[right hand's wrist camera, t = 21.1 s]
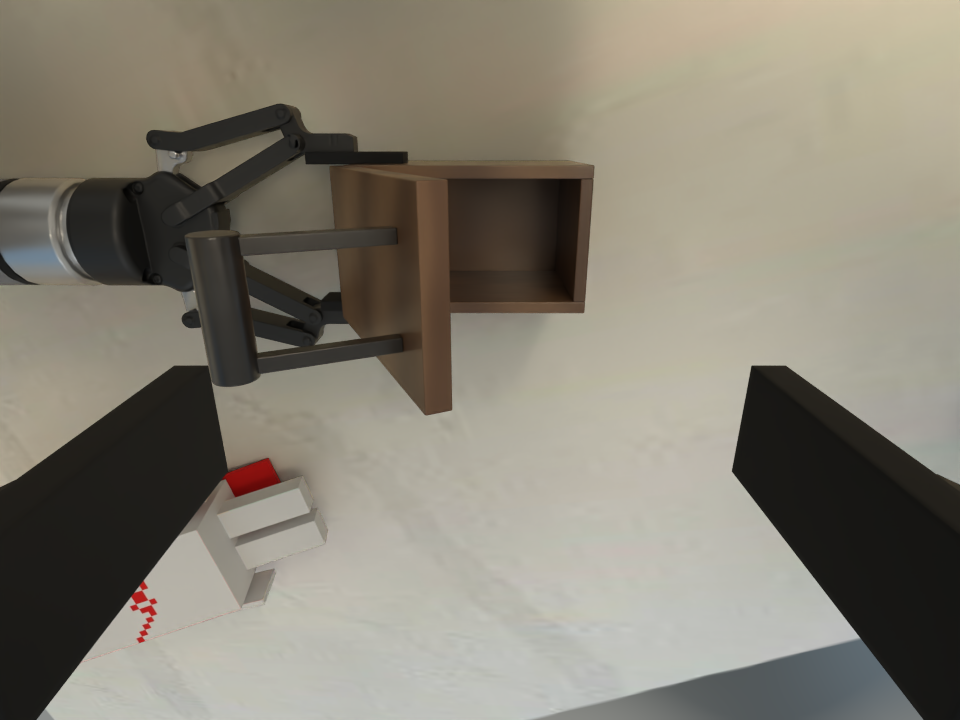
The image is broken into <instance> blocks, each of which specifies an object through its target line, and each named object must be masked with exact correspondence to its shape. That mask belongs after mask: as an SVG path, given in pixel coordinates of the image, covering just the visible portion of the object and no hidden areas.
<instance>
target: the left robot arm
mask: <svg viewBox="0 0 960 720" xmlns="http://www.w3.org/2000/svg"><path fill="white" fill-rule="evenodd" d="M279 129H281V131H282V133H283V135H284V138H283V139H281V140H280V141H278V142H276V143H275V144H273V145H271V146H270V147H268V148H267V149H265V150H263V151H262V152H260V153H259V154H257V155H255V156H254V157H252V158H251V159H249V160H247V161H246V162H244V163H242V164H241V165H239V166H238V167H236V168H234V169H233V170H231V171H230V172H228V173H226V174H225V175H223V176H222V177H220V178H218V179H217V180H215V181H213V182H211V183H208V184H206V185H205V186H203V187H200V186H199V185H198V184H196V183H195V182H193V181H192V180H190V179H189V178H187V177H186V176H184V175H183V174H181V173H179V168H180V166H181V165H182V164H184V163H189V162H190V161H191V160H192V158H193V151H205V150H210V149H214V148H217V147H221V146H224V145H227V144H231V143H234V142H238V141H241V140H245V139H248V138H252V137H255V136H258V135H262V134H265V133H269V132H272V131H276V130H279ZM146 140H147V143H148V144H149V146H150V147H152V148H153V149H156V156H157V166H158V172H156V173H154V174H153V175H151V176H150V177H147V178H91V179H88V180H85V179H82V178H21V179H0V285H28V284H29V285H99V284H105V285H164V286H168V287H171V288H173V289H175V290H177V291H180V292H181V293H182V296H183V300H184V303H185V307H186V310H187V313H185V314H184V315H183V316H182V322H183V324H184V325H185V326H186V327H188V328H200V327H201V323H200V317H199V312H198V307H197V301H196V296H195V290H194V285H193V280H192V274H191V269H190V264H189V258H188V253H187V248H186V242H185V235H187V234H189V233H193V232H200V231H211V230H230V222H231V218H230V212H229V209H226V208H225V206H224V204H226V203H228V202H229V201H231V200H233V199H234V198H236V197H237V196H239V194H241V193H242V192H244V191H246V190H247V189H249V188H250V187H252V186H254V185H255V184H257V183H259V182H260V181H262V180H264V179H265V178H267V177H268V176H270V175H272V174H273V173H275V172H277V171H278V170H280V169H282V168H283V167H285V166H286V165H288V164H290V163H291V162H293V161H295V160H296V159H298V158H300V157H301V156H303V155H305V160H306V164H404V163H408V152H358V143H357V137H356V136H353V135H351V134H313V133H310V132H309V131H308V130H307V129H306V128H305V126H304V124H303V122H302V119H301V113H300V111H299V110H298V109H297V108H296V107H294V106H290V105H285V104H276V105H272V106H269V107H266V108H262V109H259V110H255V111H252V112H249V113H245V114H242V115H238V116H235V117H232V118H228V119H225V120H221V121H218V122H215V123H211V124H208V125H205V126H201V127H198V128H194V129H191V130H188V131H184V132H178V131H163V130H151V131H149V132H148V134H147V136H146ZM244 266H245V272H246V279H247V286H248V292H249V295H251V296H253V297H255V298H257V299H259V300H261V301H263V302H265V303H267V304H269V305H271V306H273V307H275V308H277V309H279V310H281V311H283V312H285V313H288V314H290V315H292V316H294V317H296V318H298V319H295V318H291V317H286V316H282V315H278V314H274V313H270V312H266V311H262V310H258V309H254V308H251V312H252V318H253V325H254V332H255V336H257V337H261V338H266V339H270V340H274V341H278V342H282V343H286V344H291V345H295V346H299V347H305V346H312V345H315V344H316V342H317V341H318V340H319V339H320V338H321V336H322V335H323V329H324V325H325V324H349V323H348V322H347V321H346V320H345V318H344V317H343V310H342V299H341V292H329V293H328V294H327V295H326V296H325V297H324V298H323V299H322V300H319V299H317V298H315V297H313V296H311V295H309V294H307V293H305V292H303V291H301V290H299V289H297V288H295V287H293V286H291V285H289V284H287V283H285V282H283V281H281V280H279V279H277V278H275V277H273V276H271V275H269V274H267V273H265V272H263V271H261V270H259V269H257V268H255V267H253V266H251V265H250V264H249V263H248V262H247V261H246V260H244ZM299 319H300V320H299Z"/></svg>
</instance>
